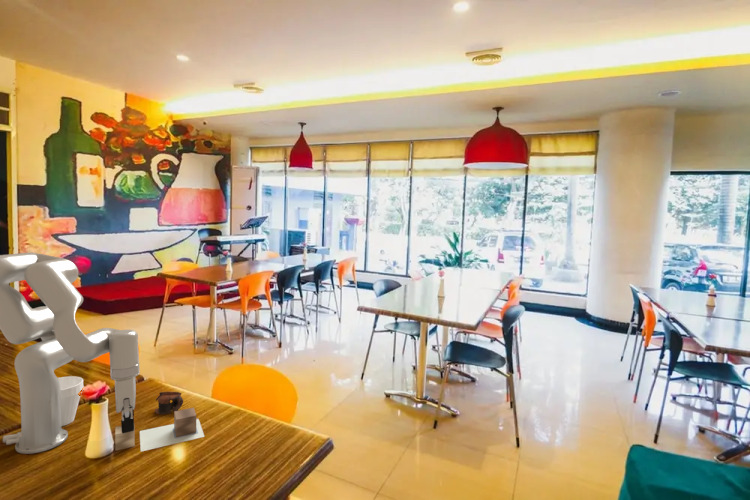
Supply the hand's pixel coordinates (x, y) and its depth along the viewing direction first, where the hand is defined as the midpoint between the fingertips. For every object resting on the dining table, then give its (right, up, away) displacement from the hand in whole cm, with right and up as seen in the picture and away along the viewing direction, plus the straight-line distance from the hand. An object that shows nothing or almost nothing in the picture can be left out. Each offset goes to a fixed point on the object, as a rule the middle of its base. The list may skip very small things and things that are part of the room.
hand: (128, 424), depth 125 cm
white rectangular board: (+10, -7, +7) cm, 14 cm away
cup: (-31, -5, +13) cm, 34 cm away
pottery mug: (+1, -6, +24) cm, 25 cm away
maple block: (-1, -7, +1) cm, 8 cm away
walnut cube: (+13, -6, +9) cm, 17 cm away
